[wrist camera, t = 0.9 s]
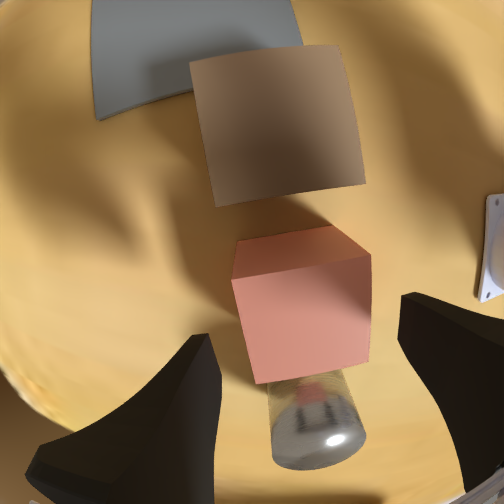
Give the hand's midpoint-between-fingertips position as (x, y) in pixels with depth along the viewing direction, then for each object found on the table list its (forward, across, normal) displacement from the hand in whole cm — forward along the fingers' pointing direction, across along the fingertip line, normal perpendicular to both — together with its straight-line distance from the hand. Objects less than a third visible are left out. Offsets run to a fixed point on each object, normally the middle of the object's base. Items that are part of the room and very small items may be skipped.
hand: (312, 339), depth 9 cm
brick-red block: (+6, 0, 0) cm, 6 cm away
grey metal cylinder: (+6, 0, +8) cm, 9 cm away
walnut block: (+6, 0, -8) cm, 9 cm away
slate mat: (+6, +3, -16) cm, 17 cm away
